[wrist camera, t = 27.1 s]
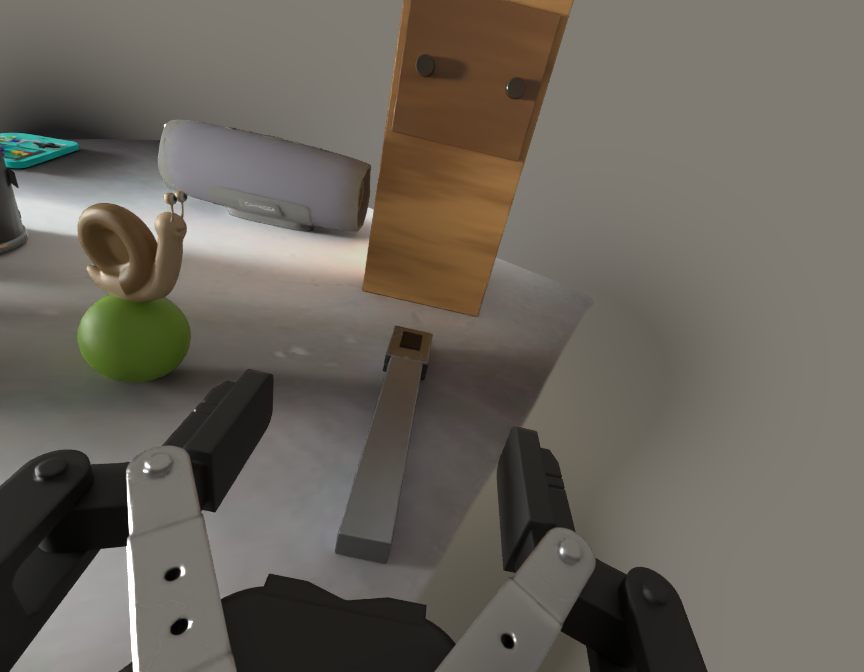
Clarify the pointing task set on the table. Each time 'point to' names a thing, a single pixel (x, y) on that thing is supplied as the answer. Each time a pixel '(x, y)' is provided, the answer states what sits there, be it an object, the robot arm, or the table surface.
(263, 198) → the bluetooth speaker
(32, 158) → the handheld gaming console
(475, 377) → the table surface
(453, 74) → the zigzag wood box
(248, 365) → the table surface
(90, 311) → the snail figurine
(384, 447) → the bottle opener
